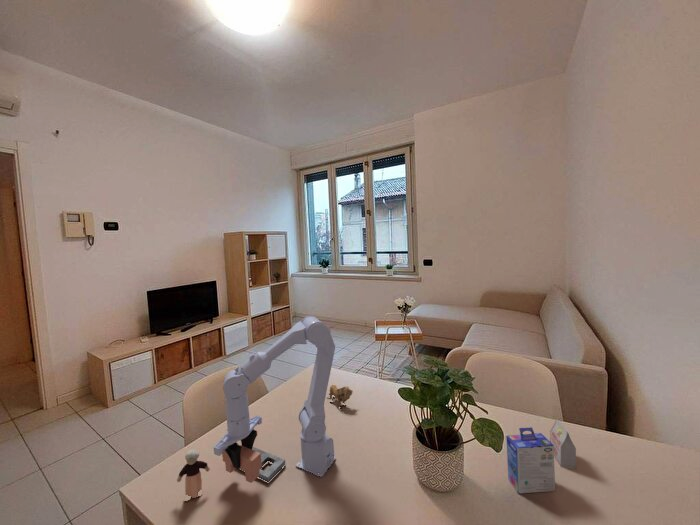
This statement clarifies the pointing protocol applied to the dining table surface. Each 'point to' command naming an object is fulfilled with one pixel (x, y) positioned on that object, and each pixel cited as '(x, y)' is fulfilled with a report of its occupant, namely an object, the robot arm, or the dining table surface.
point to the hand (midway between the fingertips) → (242, 462)
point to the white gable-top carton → (563, 446)
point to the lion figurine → (340, 393)
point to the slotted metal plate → (273, 469)
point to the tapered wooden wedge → (246, 463)
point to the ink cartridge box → (530, 462)
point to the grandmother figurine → (192, 473)
